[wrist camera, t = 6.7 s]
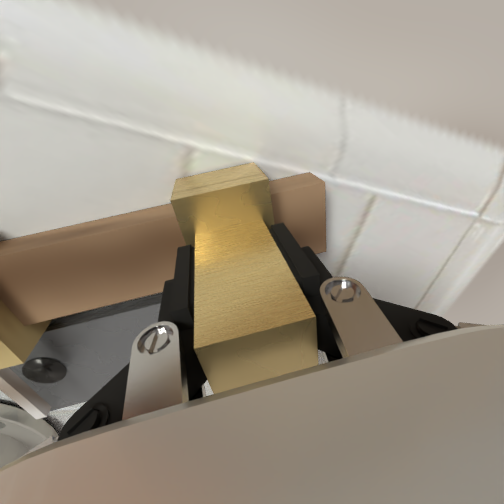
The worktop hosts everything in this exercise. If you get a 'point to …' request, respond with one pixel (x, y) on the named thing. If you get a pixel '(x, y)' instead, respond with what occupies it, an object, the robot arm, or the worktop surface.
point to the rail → (112, 269)
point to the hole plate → (85, 351)
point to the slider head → (241, 281)
